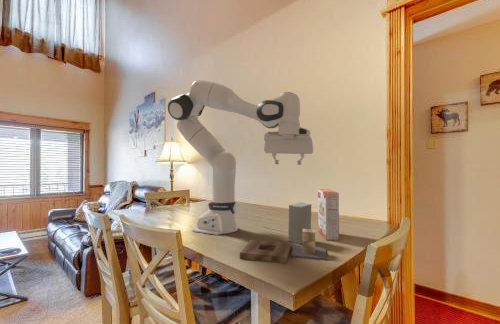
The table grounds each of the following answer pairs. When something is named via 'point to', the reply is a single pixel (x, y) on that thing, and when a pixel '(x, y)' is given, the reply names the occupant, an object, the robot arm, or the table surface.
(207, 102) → the robot arm
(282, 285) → the table surface
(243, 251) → the pocket plate
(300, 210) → the skincare box
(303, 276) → the table surface
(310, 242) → the maple block
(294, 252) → the rubber mat
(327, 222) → the cracker box
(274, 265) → the table surface
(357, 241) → the table surface
